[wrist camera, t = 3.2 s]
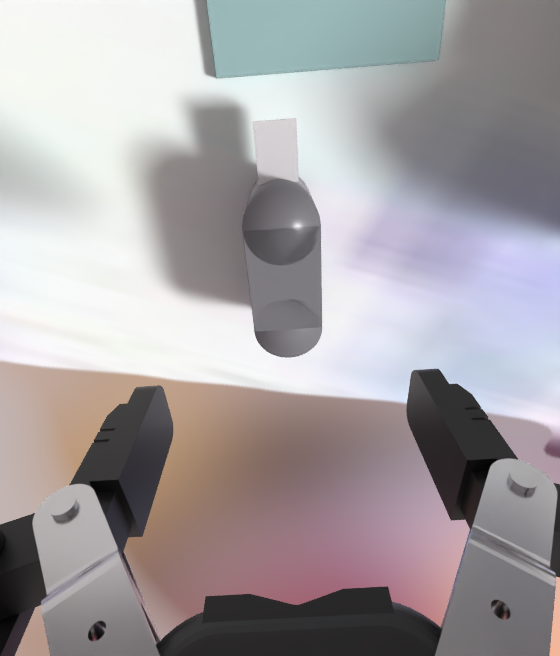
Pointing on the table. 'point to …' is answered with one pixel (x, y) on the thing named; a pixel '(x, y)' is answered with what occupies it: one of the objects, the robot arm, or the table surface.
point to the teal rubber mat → (321, 34)
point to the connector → (282, 246)
